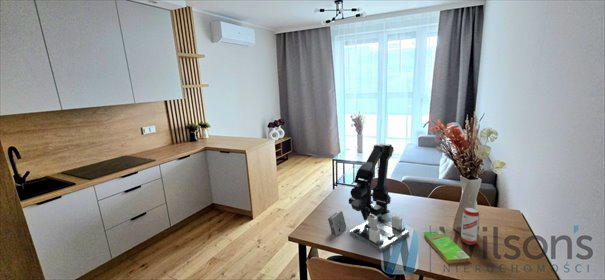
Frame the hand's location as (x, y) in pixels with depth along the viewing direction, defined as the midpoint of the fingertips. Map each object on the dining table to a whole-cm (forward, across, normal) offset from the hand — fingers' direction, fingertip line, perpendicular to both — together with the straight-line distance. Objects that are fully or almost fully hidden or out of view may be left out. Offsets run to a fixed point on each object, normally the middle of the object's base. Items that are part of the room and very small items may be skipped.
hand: (365, 220), depth 140 cm
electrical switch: (+4, -7, -13) cm, 15 cm away
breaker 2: (+1, +13, -8) cm, 15 cm away
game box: (+5, +34, +14) cm, 37 cm away
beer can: (+4, +38, +26) cm, 47 cm away
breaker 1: (+1, +5, 0) cm, 5 cm away
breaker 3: (+1, +13, +9) cm, 15 cm away
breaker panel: (+4, +9, 0) cm, 10 cm away
